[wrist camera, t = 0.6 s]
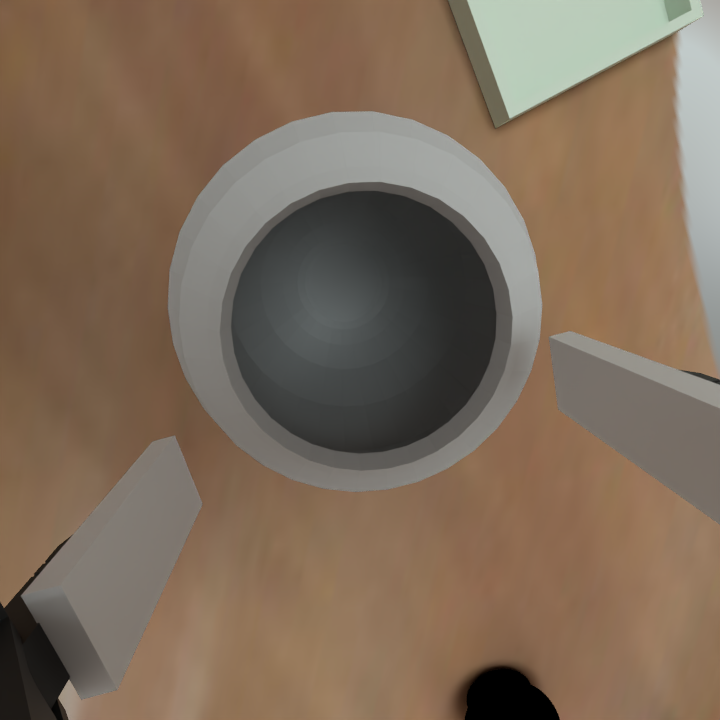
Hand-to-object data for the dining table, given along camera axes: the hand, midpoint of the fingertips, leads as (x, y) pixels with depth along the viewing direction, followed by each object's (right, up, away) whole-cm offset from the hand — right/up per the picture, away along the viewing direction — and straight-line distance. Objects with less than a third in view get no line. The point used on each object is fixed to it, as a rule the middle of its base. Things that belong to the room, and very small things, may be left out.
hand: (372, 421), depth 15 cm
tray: (+16, +32, +20) cm, 41 cm away
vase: (-2, +9, +25) cm, 27 cm away
